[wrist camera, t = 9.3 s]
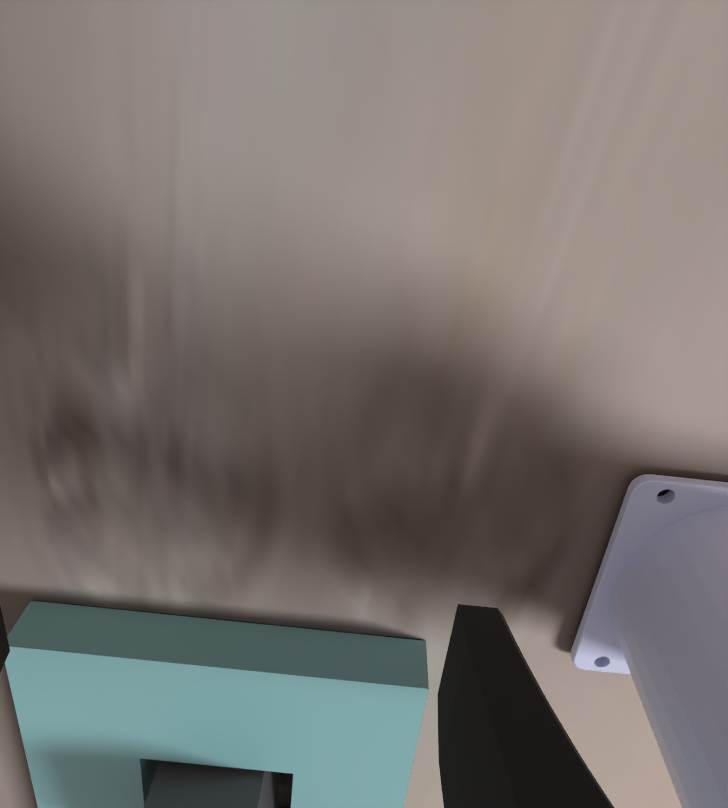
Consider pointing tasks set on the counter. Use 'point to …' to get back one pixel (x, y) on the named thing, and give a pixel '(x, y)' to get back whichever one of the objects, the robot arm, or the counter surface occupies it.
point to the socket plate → (211, 705)
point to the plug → (212, 787)
